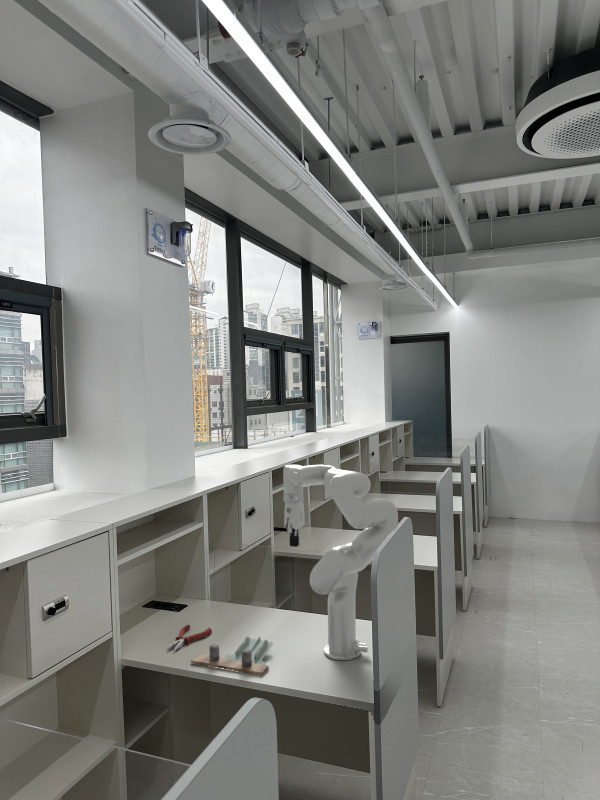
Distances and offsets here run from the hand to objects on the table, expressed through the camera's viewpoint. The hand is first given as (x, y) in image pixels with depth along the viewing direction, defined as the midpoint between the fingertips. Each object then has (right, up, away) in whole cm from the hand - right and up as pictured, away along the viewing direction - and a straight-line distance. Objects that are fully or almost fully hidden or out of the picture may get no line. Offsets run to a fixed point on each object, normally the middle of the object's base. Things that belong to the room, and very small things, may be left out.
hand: (294, 545), depth 211 cm
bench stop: (-21, -32, -28) cm, 48 cm away
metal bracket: (-14, -33, -21) cm, 42 cm away
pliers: (-41, -33, -6) cm, 53 cm away
